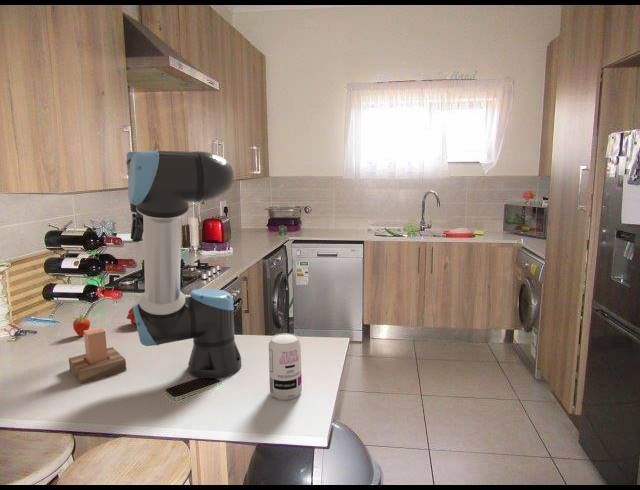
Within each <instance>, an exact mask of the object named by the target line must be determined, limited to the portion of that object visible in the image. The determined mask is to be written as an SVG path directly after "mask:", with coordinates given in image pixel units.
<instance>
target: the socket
mask: <svg viewBox="0 0 640 490" xmlns="http://www.w3.org/2000/svg"><path fill="white" fill-rule="evenodd" d="M107 357H108V360H105V361H101V362H97V363H94V364H90V365H89V364H88V363H87V360H86V353H84V354H80V355H75V356H73V357H69V358H68V366H69V370H70V371H71V373H72V375H73V376H74V377H75V378H76V380H77V381H78V382H79V384H80V385H83V384H86V383H88V382H92V381H95V380H98V379H102V378H105V377H109V376H113V375H116V374H119V373H122V372H123V373H124V372H126V371H127V362H126V358H125V357H123V356H122V355H121V353H119V352H118V351H117V350H116V349H115V348H114V347H111V346H110V347H107Z"/></svg>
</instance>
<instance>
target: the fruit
mask: <svg viewBox="0 0 640 490" xmlns="http://www.w3.org/2000/svg"><path fill="white" fill-rule="evenodd" d="M72 318H73V319H75V320H74V321H73V323H72V326H73V330H74V332H75V333H76V334H77V336H79V337H82V336H83V337H84V331H85V330H89V329H90V327H91V322H90V319H88V314H86V315H84V316H83V315H81V313H80V314H79V317H74V316H73V317H72Z"/></svg>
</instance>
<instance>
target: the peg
mask: <svg viewBox="0 0 640 490" xmlns="http://www.w3.org/2000/svg"><path fill="white" fill-rule="evenodd" d="M83 337H84V348H85V349H84V350H85V354H86V360H87V363H88V364H89V365H90V364H94V363H97V362H101V361H105V360H108V357H107V348H108V347H107V338H106V330H105V329H103V327H101V326H99V327H95V328H89V329H88V330H85V331H84V335H83Z"/></svg>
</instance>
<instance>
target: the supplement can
mask: <svg viewBox="0 0 640 490" xmlns="http://www.w3.org/2000/svg"><path fill="white" fill-rule="evenodd" d="M268 369H269V371H268V372H269V374H268V375H269V393H270V395H271V396H272V397H273V398H274V399H276V398H277V399H276V400H279V399H280V400H279V401H289V399H290V400H293V398H294V399H296V398H297V397H298V396H299V395H300V394H301V393H302V390H303V389H302V388H303V387H302V385H303V384H302V382H303V381H302V343H301V340H300V338H299V336H298V335H296V334H294V333H286V332H285V333H277V334H275V335H273V336H271V338H270V341H269V343H268Z"/></svg>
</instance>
